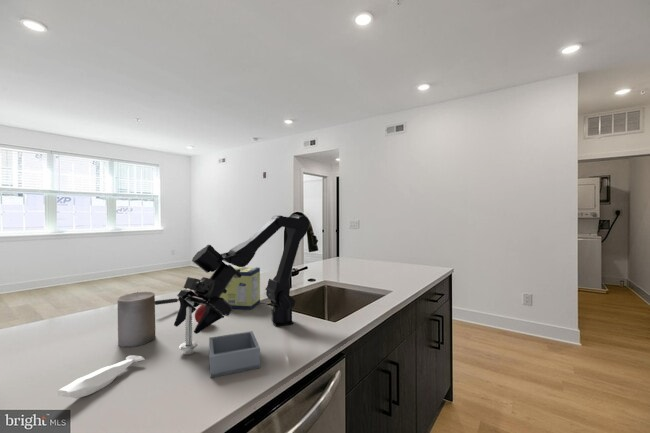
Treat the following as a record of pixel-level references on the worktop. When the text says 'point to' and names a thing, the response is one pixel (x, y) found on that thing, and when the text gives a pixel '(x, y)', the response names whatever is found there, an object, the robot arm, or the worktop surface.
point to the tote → (233, 353)
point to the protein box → (244, 289)
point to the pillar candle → (136, 319)
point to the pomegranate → (199, 313)
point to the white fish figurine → (96, 379)
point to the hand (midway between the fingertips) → (184, 329)
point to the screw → (188, 335)
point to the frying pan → (168, 300)
